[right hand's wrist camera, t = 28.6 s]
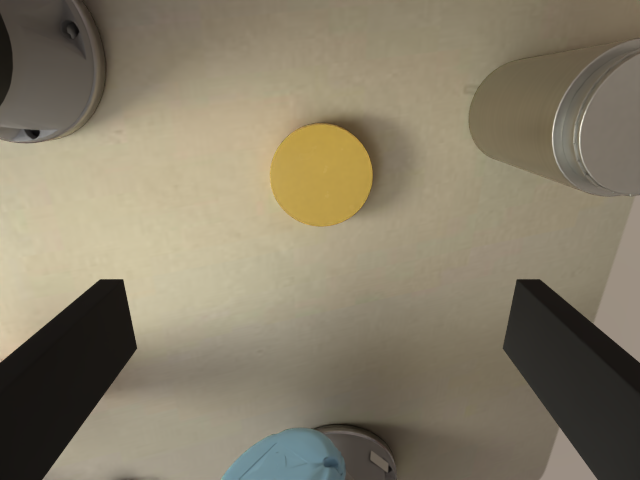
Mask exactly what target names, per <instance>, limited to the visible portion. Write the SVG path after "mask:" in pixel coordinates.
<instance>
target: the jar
mask: <svg viewBox="0 0 640 480" xmlns="http://www.w3.org/2000/svg"><path fill="white" fill-rule="evenodd" d="M469 128H470V133H471V135H472V138H473V140H474V142H475V144H476V145H477V147H478V148H479V149H480V150H481V151H482V152H483V153H484V154H486V155H487V156H489V157H491V158H493V159H496V160H498V161H501V162H504V163H507V164H509V165H512V166H515V167H518V168H520V169H523V170H526V171H529V172H531V173H534V174H537V175H540V176H542V177H545V178H548V179H551V180H553V181H556V182H559V183H562V184H564V185H567V186H570V187H573V188H575V189H578V190H581V191H584V192H587V193H590V194H593V195H598V196H620V195H625V196H637V195H640V38H637V39H631V40H626V41H620V42H615V43H609V44H603V45H598V46H592V47H587V48H581V49H576V50H570V51H565V52H559V53H554V54H548V55H543V56H537V57H532V58H526V59H520V60H516V61H512V62H509V63H507V64H505V65H503V66H501V67H499V68H498V69H496V70H495V71H493V72H492V73H491V74H490V75H489V76H488V77H487V78H486V79H485V80H484V81H483V82H482V84H481V85H480V86H479V88H478V90H477V91H476V93H475V95H474V97H473V100H472V103H471V106H470V111H469Z"/></svg>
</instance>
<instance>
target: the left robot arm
mask: <svg viewBox="0 0 640 480" xmlns="http://www.w3.org/2000/svg"><path fill="white" fill-rule="evenodd" d="M221 480H397V476H396V467H395V462H394V457H393V454H392V452H391V450H390V448H389V447H388V445H387V444H386V443H385V442H384V441H383V440H382V439H381V438H379V437H378V436H377V435H375V434H373V433H371V432H370V431H367V430H365V429H362V428H359V427H354V426H348V425H329V426H323V427H319V428H315V429H309V428H292V429H287V430H284V431H282V432H280V433H278V434H272V435H270V436H268V437H266V438H264V439H262V440H261V441H259V442H258V443H256V444H255V445H253V446H252V447H250V448H249V449H248V450H247V451H246V452H244V453H243V454H242V455H241V456H240V457H239V458H238V459H237V460H236V461H235V462H234V463H233V464H232V465H231V466H230V468H229V469H228V470H227V471H226V473H225V474H224V476H223V477H222V478H221Z"/></svg>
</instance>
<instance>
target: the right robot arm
mask: <svg viewBox="0 0 640 480" xmlns="http://www.w3.org/2000/svg"><path fill="white" fill-rule="evenodd" d="M105 71H106V68H105V56H104V50H103V46H102V41H101V38H100V35H99V32H98V29H97V27H96V25H95V22H94V20H93V18H92V16H91V14H90V12H89V11H88V9H87V7H86V6H85V4H84V3H83V1H82V0H0V139H1V140H5V141H10V142H16V143H36V142H42V141H48V140H54V139H58V138H62V137H64V136H67V135H69V134H71V133H73V132H75V131H76V130H78V129H79V128H80V127H82V126H83V125H84V124H85V123H86V122H87V121H88V120H89V119H90V117H91V116H92V115H93V113H94V112H95V110H96V108H97V106H98V104H99V102H100V99H101V96H102V93H103V89H104V84H105ZM136 349H137V345H136V340H135V335H134V330H133V326H132V321H131V316H130V311H129V306H128V301H127V296H126V291H125V286H124V281H123V279H100V280H99V281H98V282H96V283H95V284H94V285H93V286H92V287H91V288H89V289H88V290H87V291H86V292H85V293H83V294H82V295H81V296H80V297H79V298H77V299H76V300H75V301H74V302H73V303H71V304H70V305H69V306H68V307H67V308H65V309H64V310H63V311H62V312H61V313H59V314H58V315H57V316H56V317H55V318H53V319H52V320H51V321H50V322H49V323H47V324H46V325H45V326H44V327H43V328H41V329H40V330H39V331H38V332H37V333H35V334H34V335H33V336H32V337H31V338H29V339H28V340H27V341H26V342H25V343H23V344H22V345H21V346H20V347H19V348H18V349H16V350H15V351H14V352H13V353H12V354H10V355H9V356H8V357H7V358H6V359H4V360H3V361H2V362H1V363H0V480H42V479H43V478H44V477H45V475H46V474H47V472H48V471H49V470H50V468H51V467H52V465H53V464H54V463H55V461H56V460H57V459H58V457H59V456H60V454H61V453H62V452H63V450H64V449H65V448H66V446H67V445H68V443H69V442H70V441H71V439H72V438H73V436H74V435H75V434H76V432H77V431H78V430H79V428H80V427H81V425H82V424H83V423H84V421H85V420H86V418H87V417H88V416H89V414H90V413H91V412H92V410H93V409H94V407H95V406H96V405H97V403H98V402H99V401H100V399H101V398H102V396H103V395H104V394H105V392H106V391H107V389H108V388H109V387H110V385H111V384H112V383H113V381H114V380H115V378H116V377H117V376H118V374H119V373H120V371H121V370H122V369H123V367H124V366H125V365H126V363H127V362H128V360H129V359H130V358H131V356H132V355H133V354H134V352H135V351H136ZM503 349H504V351H505V352H506V354H507V355H508V356H509V358H510V359H511V360H512V362H513V363H514V365H515V366H516V367H517V369H518V370H519V371H520V373H521V374H522V376H523V377H524V378H525V380H526V381H527V383H528V384H529V385H530V387H531V388H532V389H533V391H534V392H535V394H536V395H537V396H538V398H539V399H540V401H541V402H542V403H543V405H544V406H545V407H546V409H547V410H548V412H549V413H550V414H551V416H552V417H553V418H554V420H555V421H556V423H557V424H558V425H559V427H560V428H561V429H562V431H563V432H564V434H565V435H566V436H567V438H568V439H569V441H570V442H571V443H572V445H573V446H574V448H575V449H576V450H577V452H578V453H579V454H580V456H581V457H582V459H583V460H584V461H585V463H586V464H587V465H588V467H589V468H590V470H591V471H592V472H593V474H594V475H595V477H596V478H597V479H598V480H640V363H639V362H638V361H637V360H636V359H634V358H633V357H632V356H631V355H630V354H628V353H627V352H626V351H625V350H624V349H622V348H621V347H620V346H619V345H618V344H617V343H615V342H614V341H613V340H612V339H610V338H609V337H608V336H607V335H606V334H604V333H603V332H602V331H601V330H600V329H599V328H597V327H596V326H595V325H594V324H593V323H591V322H590V321H589V320H588V319H587V318H585V317H584V316H583V315H582V314H581V313H579V312H578V311H577V310H576V309H575V308H573V307H572V306H571V305H570V304H569V303H567V302H566V301H565V300H564V299H563V298H561V297H560V296H559V295H558V294H557V293H555V292H554V291H553V290H552V289H551V288H549V287H548V286H547V285H546V284H545V283H544V282H542V281H541V280H540V279H517V281H516V286H515V291H514V296H513V301H512V306H511V311H510V316H509V321H508V326H507V330H506V335H505V340H504V345H503Z"/></svg>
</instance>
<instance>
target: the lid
mask: <svg viewBox="0 0 640 480" xmlns="http://www.w3.org/2000/svg"><path fill="white" fill-rule="evenodd" d="M372 179H373V171H372V164H371V161H370V158H369V155H368V153H367V151H366V149H365V148H364V146H363V145H362V143H361V142H360V141H359V140H358V139H357V138H356V137H355V136H354V135H353V134H352V133H351V132H349V131H347V130H346V129H344V128H342V127H340V126H337V125H334V124H329V123H314V124H309V125H305V126H303V127H301V128H299V129H297V130H295V131H294V132H292V133H291V134H290V135H288V136H287V137H286V138H285V140H284V141H283V142H282V143H281V145H280V146H279V147H278V149H277V151H276V152H275V154H274V157H273V160H272V163H271V169H270V182H271V188H272V191H273V194H274V196H275V198H276V200H277V202H278V203H279V205H280V206H281V207H282V209H283V210H284V211H285V212H286V213H287V214H288V215H290V216H291V217H292V218H294V219H296V220H297V221H299V222H302V223H304V224H308V225H312V226H331V225H335V224H338V223H341V222H343V221H345V220H347V219H349V218H350V217H352V216H353V215H354V214H355V213H356V212H358V211H359V209H360V208H361V207H362V206H363V204H364V203H365V201H366V200H367V198H368V195H369V193H370V190H371V186H372Z"/></svg>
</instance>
